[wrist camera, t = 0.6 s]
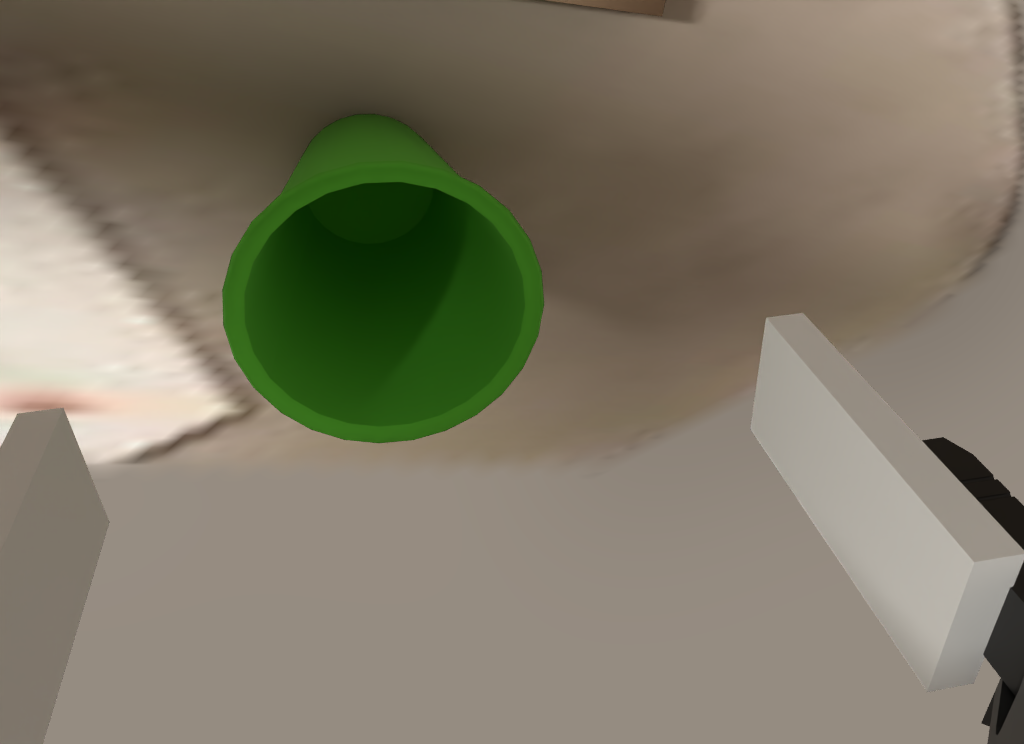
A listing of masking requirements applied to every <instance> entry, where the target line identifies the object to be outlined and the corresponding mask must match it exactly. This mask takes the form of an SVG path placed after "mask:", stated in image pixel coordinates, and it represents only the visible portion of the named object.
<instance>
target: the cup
mask: <svg viewBox="0 0 1024 744" xmlns="http://www.w3.org/2000/svg"><path fill="white" fill-rule="evenodd" d="M222 292H223V325H224V329H225V332H226V335H227V338H228V341H229V344H230V347H231V350H232V353H233V356H234V359H235V360H236V362H237V363H238V365H239V366H240V368H241V369H242V371H243V372H244V374H245V375H246V377H247V379H248V380H249V382H250V383H251V385H252V386H253V387H254V388H255V389H256V390H257V391H258V392H259V393H260V394H261V395H262V396H263V397H264V398H266V399H267V400H268V401H269V402H270V403H271V404H272V405H273V406H274V407H275V408H277V409H278V410H279V411H280V412H281V413H283V414H284V415H286V416H288V417H290V418H292V419H293V420H295V421H297V422H299V423H300V424H302V425H304V426H306V427H308V428H309V429H311V430H314V431H318V432H321V433H324V434H327V435H331V436H334V437H337V438H340V439H344V440H352V441H362V442H372V443H386V442H397V441H408V440H415V439H418V438H422V437H425V436H429V435H432V434H436V433H439V432H443V431H446V430H448V429H450V428H452V427H454V426H456V425H458V424H460V423H462V422H464V421H466V420H468V419H470V418H471V417H473V416H475V415H477V414H478V413H479V412H481V411H482V410H483V409H484V408H486V407H487V406H488V405H489V404H491V403H492V402H493V401H494V400H496V399H497V398H498V397H499V396H501V395H502V394H503V392H504V391H505V390H506V389H507V387H508V386H509V385H510V384H511V382H512V381H513V380H514V379H515V377H516V376H517V375H518V374H519V372H520V371H521V370H522V369H523V367H524V365H525V363H526V361H527V358H528V356H529V354H530V352H531V350H532V348H533V346H534V344H535V342H536V339H537V337H538V334H539V328H540V323H541V318H542V313H543V308H544V296H543V283H542V271H541V268H540V265H539V263H538V260H537V257H536V254H535V252H534V249H533V246H532V244H531V241H530V239H529V237H528V236H527V234H526V233H525V232H524V230H523V229H522V227H521V226H520V225H519V223H518V222H517V220H516V219H515V218H514V216H513V215H512V213H511V212H510V211H509V210H508V209H507V208H506V207H505V206H504V205H502V204H501V203H500V202H499V201H497V200H496V199H495V198H494V197H493V196H491V195H490V194H489V193H488V192H487V191H485V190H484V189H483V188H482V187H480V186H479V185H477V184H475V183H473V182H470V181H468V180H466V179H464V178H462V177H460V176H459V175H458V174H457V173H456V172H455V171H454V170H453V169H452V168H451V167H450V166H449V165H448V164H447V163H446V162H445V161H444V160H443V159H442V158H441V157H440V156H439V155H438V154H437V153H436V152H435V151H434V150H433V149H432V148H431V147H430V146H429V145H428V144H427V143H426V142H425V141H424V140H423V139H422V138H421V137H420V136H419V135H418V134H417V133H416V132H414V131H413V130H412V129H411V128H409V127H408V126H407V125H405V124H403V123H401V122H399V121H397V120H395V119H393V118H390V117H385V116H381V115H376V114H358V115H353V116H349V117H346V118H342V119H339V120H337V121H335V122H334V123H332V124H330V125H328V126H327V127H325V128H324V129H323V130H322V131H320V132H319V133H318V134H317V135H316V136H315V137H314V138H313V139H312V141H311V142H310V144H309V146H308V147H307V149H306V151H305V152H304V154H303V156H302V157H301V159H300V161H299V163H298V164H297V166H296V168H295V170H294V172H293V173H292V175H291V177H290V179H289V180H288V182H287V184H286V186H285V187H284V189H283V191H282V193H281V194H280V195H279V196H278V197H277V198H276V199H275V200H274V201H273V202H272V203H271V204H270V205H269V206H268V207H267V208H266V209H265V210H264V211H263V212H261V213H260V214H259V215H258V216H257V217H256V218H255V219H254V220H253V221H252V222H251V224H250V225H249V227H248V229H247V230H246V232H245V234H244V235H243V237H242V239H241V240H240V242H239V244H238V245H237V247H236V249H235V250H234V252H233V254H232V256H231V260H230V264H229V267H228V271H227V275H226V279H225V282H224V286H223V290H222Z"/></svg>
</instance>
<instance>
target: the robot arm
mask: <svg viewBox="0 0 1024 744" xmlns="http://www.w3.org/2000/svg"><path fill="white" fill-rule="evenodd" d="M750 430H751V431H752V433H753V434H754V436H755V437H756V439H757V440H758V442H759V443H760V445H761V446H762V448H763V449H764V451H765V452H766V454H767V455H768V457H769V458H770V460H771V461H772V463H773V464H774V466H775V467H776V469H777V470H778V471H779V473H780V474H781V476H782V477H783V479H784V480H785V482H786V483H787V485H788V486H789V488H790V489H791V491H792V492H793V494H794V495H795V497H796V498H797V500H798V501H799V503H800V504H801V506H802V507H803V509H804V510H805V512H806V513H807V514H808V516H809V517H810V519H811V520H812V522H813V523H814V525H815V526H816V528H817V529H818V531H819V532H820V534H821V535H822V537H823V538H824V540H825V541H826V543H827V544H828V546H829V547H830V549H831V550H832V552H833V553H834V555H835V556H836V558H837V559H838V561H839V562H840V564H841V565H842V566H843V568H844V569H845V571H846V572H847V574H848V575H849V577H850V578H851V580H852V581H853V583H854V584H855V586H856V587H857V589H858V590H859V592H860V593H861V595H862V596H863V598H864V599H865V600H866V602H867V604H868V605H869V607H870V608H871V610H872V611H873V613H874V614H875V615H876V617H877V618H878V620H879V621H880V623H881V624H882V626H883V627H884V629H885V630H886V632H887V633H888V635H889V636H890V638H891V639H892V641H893V642H894V644H895V645H896V647H897V648H898V650H899V651H900V653H901V654H902V656H903V657H904V658H905V660H906V661H907V663H908V664H909V666H910V667H911V669H912V670H913V672H914V673H915V675H916V676H917V678H918V679H919V681H920V682H921V684H922V685H923V687H924V688H925V690H926V691H927V692H930V691H936V690H941V689H946V688H951V687H957V686H962V685H967V684H973V683H974V681H975V679H976V676H977V674H978V672H979V669H980V667H981V664H982V662H983V659H984V657H985V658H986V659H987V660H988V661H989V663H990V664H991V665H992V667H993V668H994V669H995V670H996V672H997V673H998V675H999V676H1000V677H1001V679H1000V681H999V684H998V686H997V688H996V691H995V693H994V695H993V698H992V700H991V702H990V704H989V707H988V709H987V711H986V714H985V716H984V718H983V721H982V724H985V725H987V726H990V730H989V737H988V744H1024V506H1023V505H1022V504H1021V503H1020V502H1019V501H1018V500H1017V499H1016V498H1015V497H1011V495H1010V492H1009V490H1007V488H1006V487H1004V486H1003V484H1002V483H1001V482H999V480H994V477H993V474H992V473H991V472H990V471H989V470H988V469H987V468H986V467H985V466H984V465H983V464H982V463H981V462H980V461H979V460H978V459H977V458H976V457H975V456H974V455H973V454H971V453H970V452H968V451H966V450H964V449H963V448H961V447H959V446H957V445H956V444H954V443H952V442H950V441H949V440H947V439H945V438H944V437H942V438H936V439H929V440H921V439H920V438H919V437H918V436H917V435H916V434H915V433H914V432H913V431H912V430H911V428H910V427H909V426H908V425H907V424H906V423H905V422H904V421H903V420H902V419H901V418H900V417H899V416H898V414H897V413H896V412H894V410H893V409H892V408H891V407H890V406H889V405H888V404H887V403H886V402H885V400H884V399H883V398H882V397H881V396H880V395H879V394H878V393H877V392H876V391H875V390H874V389H873V388H872V386H871V385H870V384H869V383H868V382H867V381H866V380H865V379H864V378H863V377H862V376H861V375H860V374H859V372H857V371H856V369H855V368H854V367H853V366H852V365H851V364H850V363H849V362H848V361H847V360H846V359H845V357H844V356H843V355H842V354H841V353H840V352H839V351H838V350H837V349H836V348H835V347H834V346H833V345H832V343H831V342H830V341H829V340H828V339H827V338H826V337H825V336H824V335H823V334H822V333H821V332H820V331H819V329H818V328H817V327H816V326H815V325H814V324H813V323H812V322H811V321H810V320H809V319H808V318H807V317H806V316H805V314H804V313H797V314H790V315H782V316H774V317H766V322H765V329H764V336H763V343H762V350H761V357H760V364H759V371H758V378H757V385H756V392H755V399H754V406H753V413H752V420H751V427H750ZM108 526H109V520H108V518H107V515H106V512H105V510H104V508H103V505H102V503H101V500H100V498H99V495H98V493H97V490H96V488H95V485H94V483H93V480H92V478H91V475H90V473H89V470H88V468H87V465H86V463H85V460H84V458H83V455H82V453H81V450H80V448H79V446H78V443H77V441H76V438H75V436H74V433H73V431H72V428H71V426H70V423H69V421H68V418H67V416H66V413H65V411H64V408H58V409H50V410H42V411H35V412H27V413H19V414H17V416H16V418H15V420H14V422H13V424H12V426H11V428H10V430H9V432H8V434H7V436H6V438H5V440H4V442H3V444H2V446H1V448H0V744H43V742H44V739H45V735H46V732H47V728H48V725H49V722H50V719H51V715H52V712H53V708H54V705H55V702H56V699H57V695H58V692H59V689H60V685H61V682H62V679H63V675H64V672H65V669H66V665H67V662H68V659H69V655H70V652H71V648H72V645H73V642H74V639H75V635H76V632H77V629H78V625H79V622H80V619H81V615H82V612H83V609H84V605H85V602H86V599H87V595H88V592H89V589H90V585H91V582H92V579H93V576H94V572H95V569H96V566H97V562H98V559H99V555H100V552H101V549H102V546H103V542H104V539H105V535H106V532H107V529H108Z"/></svg>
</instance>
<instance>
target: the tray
mask: <svg viewBox="0 0 1024 744" xmlns="http://www.w3.org/2000/svg"><path fill="white" fill-rule="evenodd" d="M547 1H555V2H562V3H569V4H576V5H583V6H591V7H598V8H605V9H612V10H619V11H627V12H634V13H641V14H648V15H656V16H662V14H663V10H664V5H665V1H666V0H547Z"/></svg>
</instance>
